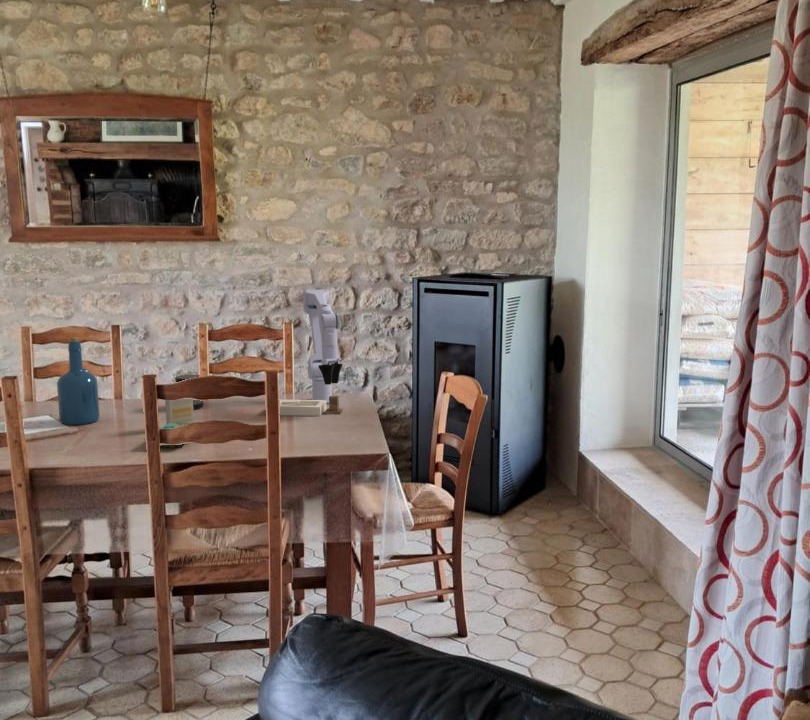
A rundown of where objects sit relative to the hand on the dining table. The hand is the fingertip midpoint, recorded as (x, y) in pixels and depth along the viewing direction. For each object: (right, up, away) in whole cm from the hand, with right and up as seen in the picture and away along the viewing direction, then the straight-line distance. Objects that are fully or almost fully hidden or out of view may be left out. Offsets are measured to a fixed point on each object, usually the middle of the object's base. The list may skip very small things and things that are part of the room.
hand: (331, 383), depth 297 cm
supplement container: (-55, -10, +11) cm, 57 cm away
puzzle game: (-46, -18, -37) cm, 62 cm away
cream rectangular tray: (-13, -10, +4) cm, 17 cm away
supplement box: (-50, -15, -20) cm, 55 cm away
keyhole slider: (+1, -11, +2) cm, 11 cm away
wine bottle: (-88, -13, -9) cm, 89 cm away
